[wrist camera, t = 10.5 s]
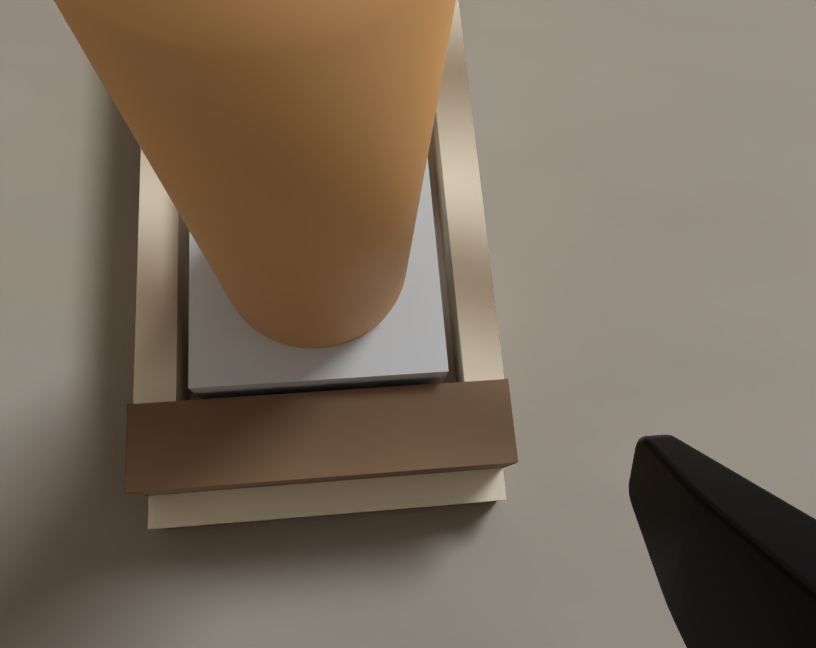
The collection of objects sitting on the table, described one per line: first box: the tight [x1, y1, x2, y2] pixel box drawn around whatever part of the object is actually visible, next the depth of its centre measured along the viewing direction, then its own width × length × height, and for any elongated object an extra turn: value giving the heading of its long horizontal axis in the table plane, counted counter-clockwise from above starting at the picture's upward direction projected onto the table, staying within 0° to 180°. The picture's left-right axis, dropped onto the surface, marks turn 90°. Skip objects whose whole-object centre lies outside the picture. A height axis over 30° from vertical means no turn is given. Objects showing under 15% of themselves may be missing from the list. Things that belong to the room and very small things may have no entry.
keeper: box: [54, 0, 456, 399], centre depth 13 cm, size 6×6×12 cm
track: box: [125, 0, 518, 529], centre depth 20 cm, size 20×9×3 cm, turn 5°
